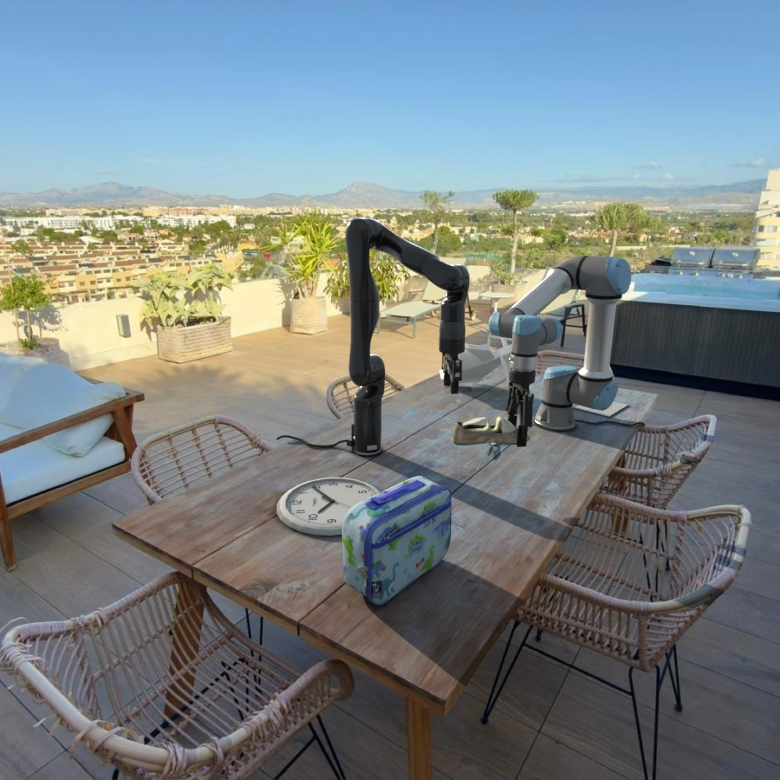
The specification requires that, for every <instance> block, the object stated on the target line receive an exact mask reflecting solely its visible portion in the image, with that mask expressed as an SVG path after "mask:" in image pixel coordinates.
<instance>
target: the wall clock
mask: <svg viewBox="0 0 780 780" xmlns="http://www.w3.org/2000/svg"><path fill="white" fill-rule="evenodd" d="M380 492H382V491H381V490H380V489H379V488H377V487H376V486H374V485H372V484H371V483H369V482H365V481H362V480H359V479H355V478H349V477H338V476H337V477H335V476H333V477H332V476H331V477H322V478H317V479H312V480H307V481H305V482H302V483H299V484H297V485H295V486H293V487H292V488H290V489H288V490H287V491H286V492H285V493H284V494H283V495H281V496H280V498H279V499H278V502H277V503H276V515H277V517H278V518H279V520H280V521H281V522H282V523H283V524H285V525H286V526H287V527H288V528H290V529H293V530H295V531H297V532H299V533H303V534H308V535H312V536H327V537H328V536H329V537H331V536H332V537H333V536H342V525H343V521H344V518H345V516H346V514H347V512H348V511H349V510H350V509H351V508H352V507H353V506H354V505H356V504H358V503H360V502H362V501H364V500H366V499H368V498H370V497H372V496H374V495H376V494H378V493H380Z"/></svg>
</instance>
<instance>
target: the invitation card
mask: <svg viewBox="0 0 780 780" xmlns="http://www.w3.org/2000/svg"><path fill="white" fill-rule="evenodd" d="M628 406H629V404H627V403H623V402H618V401H615V400H614V401H613V403H612V404H611V406H610V407H609V408H608V409H606V410H603V411H601V410H596V409H591V408H588V407H584V406H580V405H575V406H574V407H573V409H575V410H581V411H584V412H587V413H593V414H596V415H600V416H604V417H608V418H609V417H611V416H613V415H614V414H616V413H617V412H619V411H621V410H623V409H624V408H626V407H628Z"/></svg>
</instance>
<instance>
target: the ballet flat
mask: <svg viewBox="0 0 780 780" xmlns="http://www.w3.org/2000/svg"><path fill="white" fill-rule="evenodd" d="M485 420H486V424H485V425H484V424H479V423H481V422H483V421H485ZM517 436H518V426H514V425H513V424H512V423H510V422H509V421H508V419H507V420H506V418H504V417H503V416H501V415H497V416H496V417H495V423H494V424H490V421H489V419H488V417H487V416H482V417H481V416H480V417H476V418H475V417H474V418H471V419H469V420H467V421H465V422H462V421H458V420H457V421H456V422H455V423H454V424H453V427H452V429H451V433H450V439H451V442H452V444H453V445H455V446H463V447H464V446H476V445H484V444H489V443H490V444H491V443H492V442H494V443H496V445H502V446H517ZM530 440H531V437H530V435H528V434H527V442H528V441H530Z"/></svg>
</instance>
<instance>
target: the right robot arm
mask: <svg viewBox="0 0 780 780" xmlns="http://www.w3.org/2000/svg"><path fill="white" fill-rule="evenodd" d="M631 283H632V269H631V266H630V264H629V261H627V260H626V259H625V258H623V257H616V256H601V255H599V256H598V255H597V256H596V255H576V256H573V257H571V258H568V259H566V260H564V261H561V262H560V263H558V264H557V265H555V266H554V267H553V268H551V269H550V270H549V271H548V272H547V273H546V275H545V278H544V279H542V281H541V282H540V283H538V284H537V285H535V286H534V288H533V289H531V290H530V291H528V293H527V294H525V295H524V296H523V297H522V298H520V300H518V301H517V302H516V303H515V304H513V305H512V306H511V307H510V308H509V309H508V310H506V312H503V311H500V312H497V311H496V313H494V314H493V313H492V314H491V316H490V317H489V320H488V331H489V332H490V334H491V335H492V336H497V337H499V338H500V337H505V338H506V339H511V344H512V351H511V358H509V360H508V361H509V362H510V363H509V367H510V368H509V381H510V382H509V387H508V390H507V396H506V402H505V412H507V413H506V414H507V421H509V422H510V423H512V424H513V425H514V426H516V427H517V428H518V436H517V445H516V447H517V448H525V447H527V443H528V441H527V435H528V434H529V433H528V432H529V428H532V427H533V416H534V415H533V414H534V413H533V411H534V398H535V394H534V393H531V392H530V391H531V390H530V385H532V384H535V382H536V373H537V371H536V369H537V366H538V356H539V355H538V352H539V347H540V346H544V345H550V344H553V343H554V342H557V341H558V340H560V338H561V337H562V335H563V325H562V323H561V321H559V320H558V319H557V318H554V317H545V318H540V316H538V315H540V314H541V312H543V311H544V310H545V309H547V307H548V306H549V305H550V304H553V302H554V301H555V300H556V299H557V298H558V297H560V296H561V295H565V294H568V293H569V291H572V290H573V291H574V290H580V291H585V298H586V300H588V302H589V306H588V314H587V315H588V317H587V328H586V337H585V338H586V339H585V348H584V359H583V367H582V368H580V369H579V370H578V368H577V367H576V366H572V365H555V366H554V365H553V366H550V367H547V368H546V369H545V371H544V375H543V381H542V382H543V383H542V394H541V402H540V405H539V407H538V410H537V411H536V413H535V417H534V424H535V425H536V426H537V427H539V428H542V429H544V430H549V431H556V432H567V431H572V430H574V429H575V428H576V422H577V423H582V424H588V425H600V424H615V425H619V426H623V427H635V426H637V425H642V426H643V427H644V426H645V427H646V423H644V422H643V421H637V422H635V423H624V422H621V421H620V422H619V421H615V420H614V421H613V420H602V421H601V420H600V421H595V422H594V421H587V420H584V419H583V420H582V419H576V418H575V417H576V416H575V413H574V407H573V405H576V406H578V405H580V406H584V407H588V408H591V409H596V410H601V411H603V410H606V409H608V408H609V407H610V406H611V404H612V403H613V401H614V402H615V399H616V397H617V394H618V391H619V383H618V381H617V380H615V379H613V378H614V373H613V371H612V370H611V369H610V365H611V364H610V363H611V355H612V348H613V347H612V346H613V337H614V330H615V329H614V328H615V327H614V326H615V320H616V312H617V303H618V302H619V301H620V300H622V298H623V295H625V294H626V293H628V291H629V290H630V286H631ZM518 415H519V424H518Z"/></svg>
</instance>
